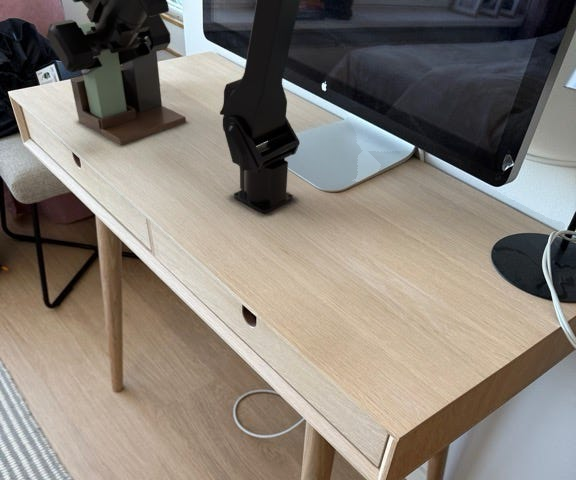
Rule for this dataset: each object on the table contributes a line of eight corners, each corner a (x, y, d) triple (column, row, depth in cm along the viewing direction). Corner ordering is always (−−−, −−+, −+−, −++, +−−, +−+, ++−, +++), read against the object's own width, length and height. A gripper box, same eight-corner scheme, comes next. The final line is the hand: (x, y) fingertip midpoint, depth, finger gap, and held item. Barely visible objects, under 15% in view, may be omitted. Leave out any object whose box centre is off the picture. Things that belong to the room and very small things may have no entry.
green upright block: (127, 111, 98) (114, 25, 88) (102, 119, 95) (86, 31, 86) (115, 105, 99) (101, 20, 90) (90, 113, 97) (73, 25, 87)
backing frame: (186, 122, 101) (179, 33, 91) (119, 145, 93) (104, 51, 83) (144, 102, 106) (133, 15, 96) (78, 122, 99) (58, 30, 88)
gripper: (150, -59, 84) (117, 11, 96) (35, -46, 74) (15, 30, 86) (189, 15, 86) (152, 74, 99) (82, 38, 76) (56, 100, 89)
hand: (96, 68), depth 93 cm, fingers closed on green upright block, 5 cm apart
